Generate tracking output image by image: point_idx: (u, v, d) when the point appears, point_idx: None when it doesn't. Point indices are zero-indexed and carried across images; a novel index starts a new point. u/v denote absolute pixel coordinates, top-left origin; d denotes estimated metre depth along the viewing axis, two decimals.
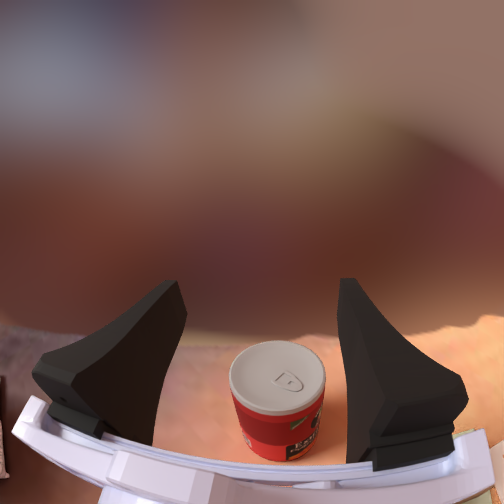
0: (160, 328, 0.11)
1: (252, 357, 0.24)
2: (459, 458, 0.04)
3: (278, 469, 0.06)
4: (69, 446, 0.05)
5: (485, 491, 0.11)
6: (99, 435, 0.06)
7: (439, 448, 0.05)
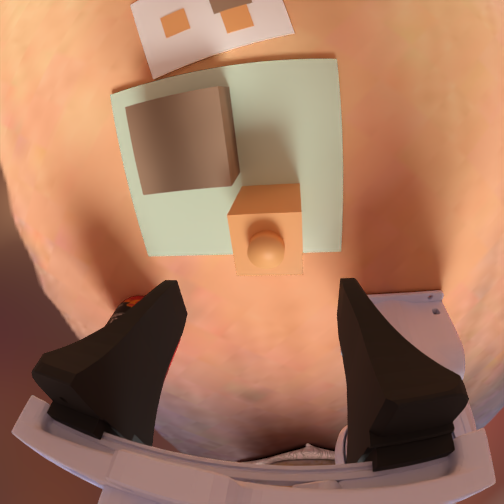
0: (160, 328, 0.11)
1: None
2: (459, 458, 0.04)
3: (278, 469, 0.06)
4: (69, 446, 0.05)
5: (222, 95, 0.15)
6: (99, 435, 0.06)
7: (439, 448, 0.05)
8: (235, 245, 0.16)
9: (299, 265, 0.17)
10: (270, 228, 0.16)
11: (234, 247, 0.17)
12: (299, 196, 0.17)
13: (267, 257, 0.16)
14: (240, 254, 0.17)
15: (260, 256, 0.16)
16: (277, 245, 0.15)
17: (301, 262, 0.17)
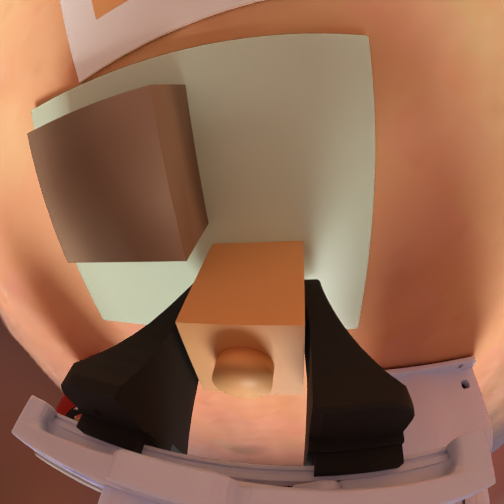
0: None
1: None
2: (459, 458, 0.04)
3: (278, 469, 0.06)
4: (69, 446, 0.05)
5: (165, 99, 0.08)
6: None
7: (386, 459, 0.05)
8: (195, 359, 0.10)
9: (297, 386, 0.10)
10: (249, 344, 0.09)
11: (194, 361, 0.10)
12: (302, 277, 0.10)
13: (245, 387, 0.09)
14: (205, 369, 0.10)
15: (233, 385, 0.09)
16: (260, 376, 0.08)
17: (300, 383, 0.10)
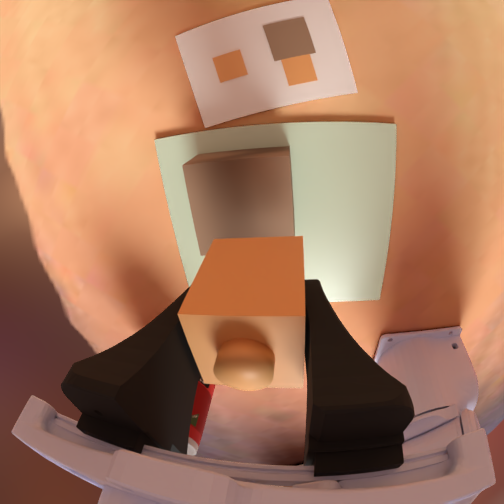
0: None
1: None
2: (459, 458, 0.04)
3: (278, 469, 0.06)
4: (69, 446, 0.05)
5: None
6: None
7: (386, 459, 0.05)
8: (197, 351, 0.10)
9: (298, 379, 0.10)
10: (251, 335, 0.09)
11: (196, 354, 0.10)
12: (302, 270, 0.10)
13: (246, 379, 0.09)
14: (206, 362, 0.10)
15: (235, 377, 0.09)
16: (261, 367, 0.09)
17: (301, 376, 0.10)
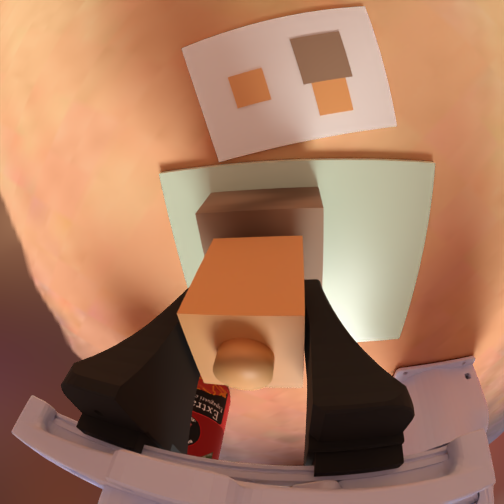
0: None
1: None
2: (459, 458, 0.04)
3: (278, 469, 0.06)
4: (69, 446, 0.05)
5: None
6: None
7: (386, 459, 0.05)
8: (197, 351, 0.10)
9: (297, 378, 0.10)
10: (250, 335, 0.09)
11: (195, 353, 0.10)
12: (301, 269, 0.10)
13: (245, 379, 0.09)
14: (205, 362, 0.10)
15: (234, 377, 0.09)
16: (261, 367, 0.09)
17: (300, 375, 0.10)
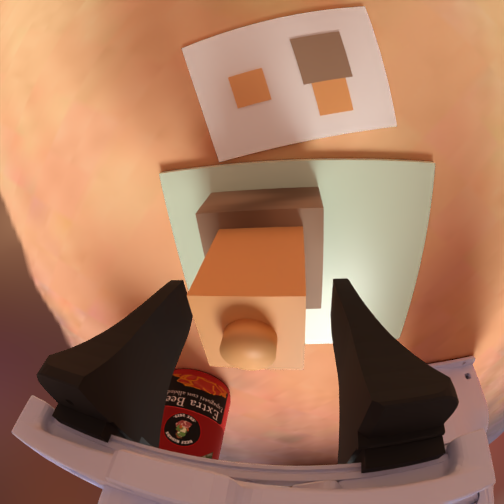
0: (166, 328, 0.11)
1: None
2: (459, 458, 0.04)
3: (278, 469, 0.06)
4: (69, 446, 0.05)
5: None
6: None
7: (429, 451, 0.05)
8: (204, 333, 0.11)
9: (299, 360, 0.11)
10: (255, 316, 0.10)
11: (202, 335, 0.11)
12: (302, 256, 0.11)
13: (250, 358, 0.10)
14: (212, 344, 0.11)
15: (239, 356, 0.10)
16: (265, 345, 0.09)
17: (302, 357, 0.11)
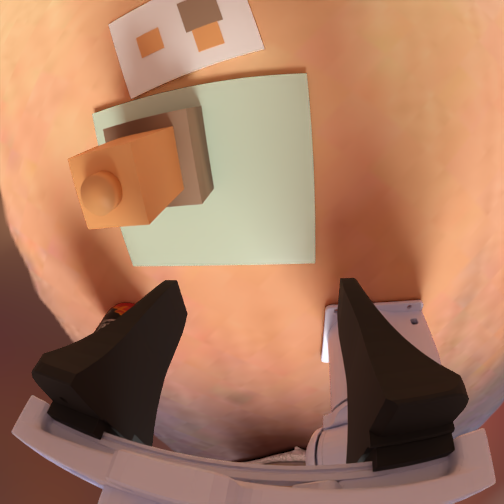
0: (160, 328, 0.11)
1: None
2: (459, 458, 0.04)
3: (278, 469, 0.06)
4: (69, 446, 0.05)
5: (192, 116, 0.16)
6: (99, 435, 0.06)
7: (439, 448, 0.05)
8: (79, 192, 0.13)
9: (142, 211, 0.13)
10: (104, 167, 0.12)
11: (79, 195, 0.13)
12: (152, 133, 0.13)
13: (99, 200, 0.12)
14: None
15: (92, 200, 0.12)
16: (104, 184, 0.11)
17: (143, 207, 0.13)
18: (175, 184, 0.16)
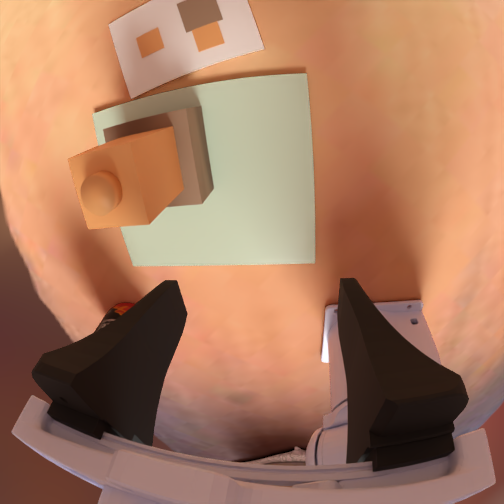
0: (160, 328, 0.11)
1: None
2: (459, 458, 0.04)
3: (278, 469, 0.06)
4: (69, 446, 0.05)
5: (192, 116, 0.16)
6: (99, 435, 0.06)
7: (439, 448, 0.05)
8: (79, 192, 0.13)
9: (142, 211, 0.13)
10: (104, 167, 0.12)
11: (79, 195, 0.13)
12: (152, 133, 0.13)
13: (99, 200, 0.12)
14: None
15: (92, 200, 0.12)
16: (104, 184, 0.11)
17: (143, 207, 0.13)
18: (175, 184, 0.16)
